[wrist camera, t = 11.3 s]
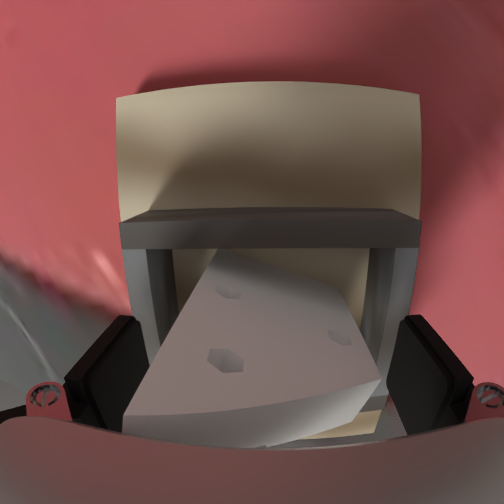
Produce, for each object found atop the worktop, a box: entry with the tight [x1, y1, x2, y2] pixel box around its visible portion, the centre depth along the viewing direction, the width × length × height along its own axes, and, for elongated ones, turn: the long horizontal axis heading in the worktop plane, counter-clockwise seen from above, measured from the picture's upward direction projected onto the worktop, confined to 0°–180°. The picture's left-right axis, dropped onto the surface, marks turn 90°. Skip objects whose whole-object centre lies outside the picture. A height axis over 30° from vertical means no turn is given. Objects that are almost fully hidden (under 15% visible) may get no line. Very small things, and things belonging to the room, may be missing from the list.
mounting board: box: [116, 81, 422, 439], centre depth 14 cm, size 20×14×4 cm
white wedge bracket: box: [122, 249, 382, 448], centre depth 11 cm, size 4×10×9 cm
